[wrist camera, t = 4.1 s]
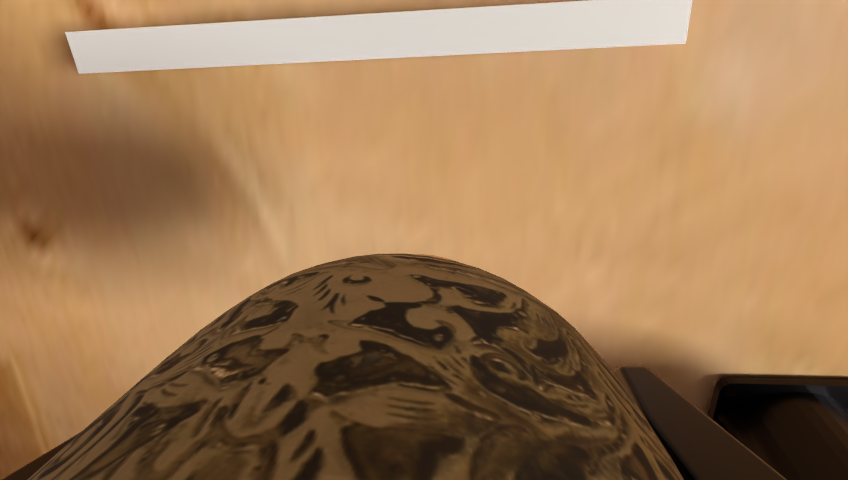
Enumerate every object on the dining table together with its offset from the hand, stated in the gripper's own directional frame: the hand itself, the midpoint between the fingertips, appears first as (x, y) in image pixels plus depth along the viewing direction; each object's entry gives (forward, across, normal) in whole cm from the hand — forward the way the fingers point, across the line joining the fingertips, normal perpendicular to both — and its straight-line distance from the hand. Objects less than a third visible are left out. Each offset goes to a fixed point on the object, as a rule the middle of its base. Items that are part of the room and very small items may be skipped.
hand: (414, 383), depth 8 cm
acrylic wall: (+12, +2, -5) cm, 13 cm away
